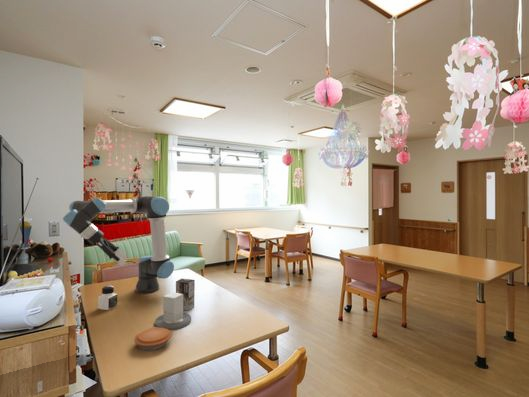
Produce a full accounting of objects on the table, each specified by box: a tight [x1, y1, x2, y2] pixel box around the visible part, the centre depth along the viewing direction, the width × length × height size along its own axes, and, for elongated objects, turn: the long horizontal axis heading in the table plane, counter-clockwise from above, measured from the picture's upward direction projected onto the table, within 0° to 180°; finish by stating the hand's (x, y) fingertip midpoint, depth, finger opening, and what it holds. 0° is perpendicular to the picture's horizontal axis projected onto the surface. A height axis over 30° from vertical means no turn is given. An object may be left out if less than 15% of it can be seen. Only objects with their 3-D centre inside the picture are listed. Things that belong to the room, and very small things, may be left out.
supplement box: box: [162, 291, 184, 323], centre depth 149 cm, size 7×7×13 cm
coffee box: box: [175, 278, 196, 311], centre depth 167 cm, size 9×6×16 cm
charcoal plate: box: [154, 312, 192, 331], centre depth 149 cm, size 18×18×1 cm
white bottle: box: [97, 285, 118, 311], centre depth 165 cm, size 7×7×12 cm
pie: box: [134, 327, 173, 352], centre depth 127 cm, size 16×16×5 cm
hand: (124, 261), depth 154 cm, fingers open, 13 cm apart
